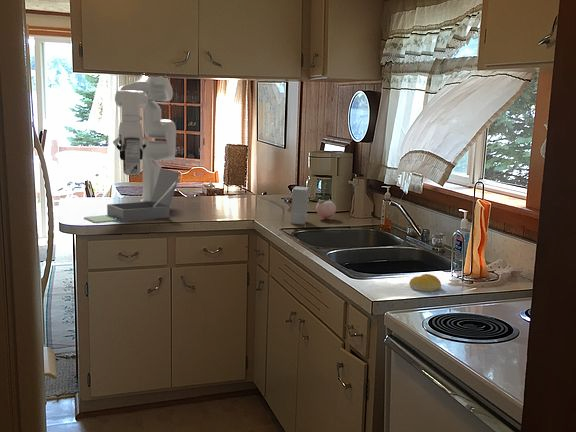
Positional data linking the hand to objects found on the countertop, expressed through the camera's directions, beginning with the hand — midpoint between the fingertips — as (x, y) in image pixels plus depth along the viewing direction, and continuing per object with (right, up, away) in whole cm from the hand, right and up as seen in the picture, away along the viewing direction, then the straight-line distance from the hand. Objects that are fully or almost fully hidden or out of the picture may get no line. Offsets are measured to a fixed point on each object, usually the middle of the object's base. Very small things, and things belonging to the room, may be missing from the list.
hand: (131, 159), depth 282 cm
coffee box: (0, -6, +1) cm, 7 cm away
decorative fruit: (+87, -27, +11) cm, 92 cm away
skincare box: (+74, -28, +2) cm, 80 cm away
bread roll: (+110, -47, -95) cm, 153 cm away
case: (+4, -25, +7) cm, 27 cm away
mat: (-12, -27, -4) cm, 30 cm away
